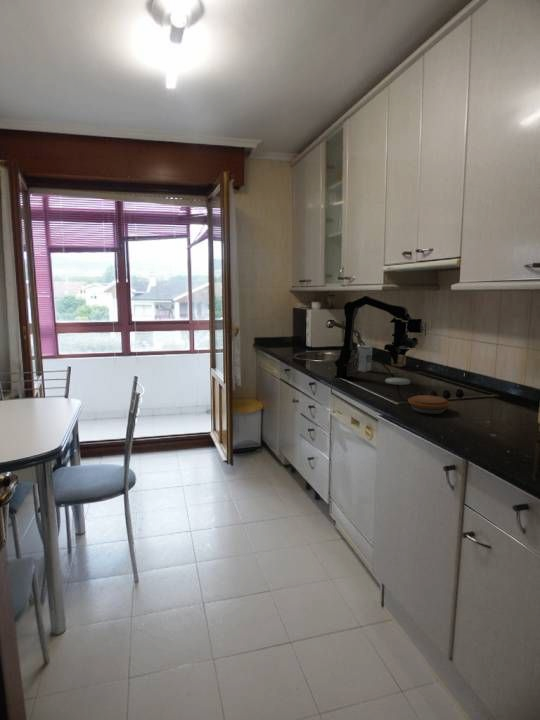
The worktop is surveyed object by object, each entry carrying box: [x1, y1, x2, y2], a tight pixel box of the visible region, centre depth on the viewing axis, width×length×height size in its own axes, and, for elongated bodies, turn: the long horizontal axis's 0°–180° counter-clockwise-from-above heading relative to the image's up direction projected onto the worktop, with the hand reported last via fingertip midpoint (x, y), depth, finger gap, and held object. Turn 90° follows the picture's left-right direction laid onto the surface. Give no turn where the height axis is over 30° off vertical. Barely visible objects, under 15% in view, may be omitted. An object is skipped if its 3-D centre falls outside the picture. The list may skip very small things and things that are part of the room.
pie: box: [407, 394, 451, 415], centre depth 172 cm, size 16×16×5 cm
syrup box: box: [357, 344, 373, 373], centre depth 255 cm, size 6×6×14 cm
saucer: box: [384, 377, 411, 386], centre depth 224 cm, size 12×12×1 cm
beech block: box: [390, 354, 407, 367], centre depth 223 cm, size 5×5×5 cm
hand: (398, 363), depth 223 cm, fingers closed on beech block, 5 cm apart
